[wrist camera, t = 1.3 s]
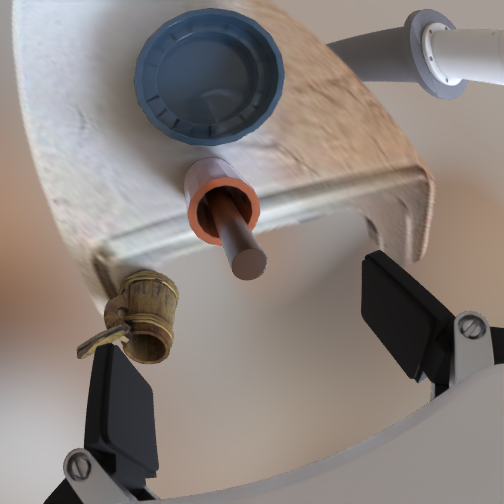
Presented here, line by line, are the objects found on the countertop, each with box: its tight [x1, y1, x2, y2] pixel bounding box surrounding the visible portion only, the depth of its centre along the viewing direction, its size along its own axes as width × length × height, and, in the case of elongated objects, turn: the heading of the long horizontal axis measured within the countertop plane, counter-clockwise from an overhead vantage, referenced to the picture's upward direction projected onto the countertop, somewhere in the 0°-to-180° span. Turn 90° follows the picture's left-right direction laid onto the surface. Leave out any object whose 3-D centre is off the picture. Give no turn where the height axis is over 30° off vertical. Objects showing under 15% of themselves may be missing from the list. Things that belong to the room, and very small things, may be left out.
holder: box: [184, 157, 260, 246], centre depth 32 cm, size 7×7×11 cm
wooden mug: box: [77, 270, 179, 364], centre depth 33 cm, size 9×14×18 cm, turn 34°
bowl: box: [134, 8, 285, 146], centre depth 27 cm, size 15×15×6 cm
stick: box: [205, 186, 267, 280], centre depth 27 cm, size 2×2×20 cm
